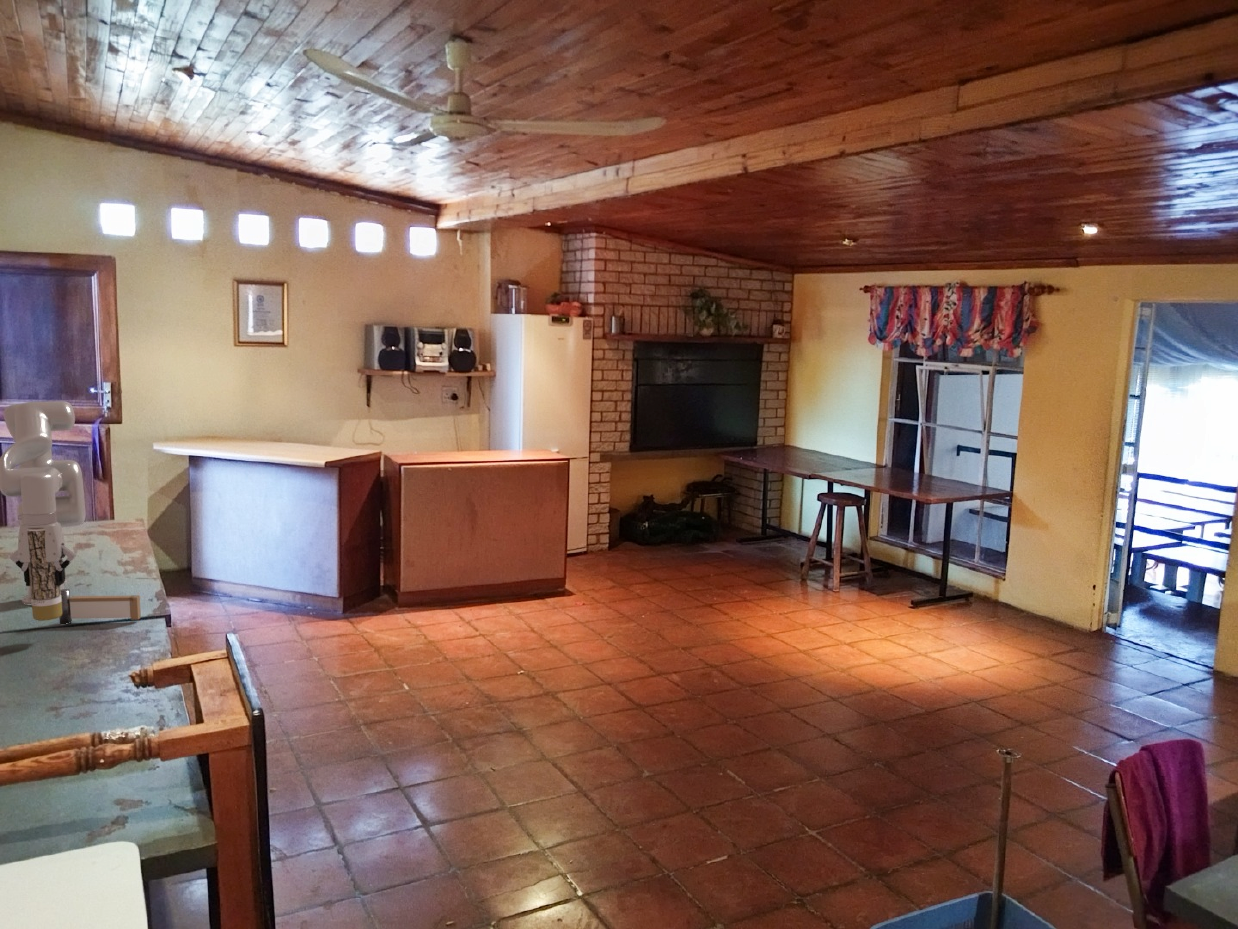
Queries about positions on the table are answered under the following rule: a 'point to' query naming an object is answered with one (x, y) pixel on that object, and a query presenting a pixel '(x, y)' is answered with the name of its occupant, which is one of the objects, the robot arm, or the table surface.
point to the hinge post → (65, 607)
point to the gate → (105, 607)
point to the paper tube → (42, 579)
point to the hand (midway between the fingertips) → (45, 584)
